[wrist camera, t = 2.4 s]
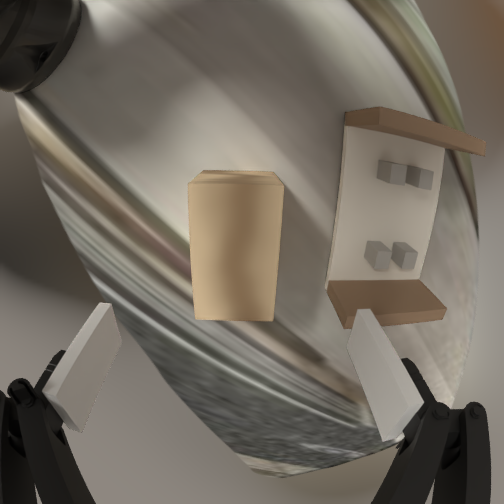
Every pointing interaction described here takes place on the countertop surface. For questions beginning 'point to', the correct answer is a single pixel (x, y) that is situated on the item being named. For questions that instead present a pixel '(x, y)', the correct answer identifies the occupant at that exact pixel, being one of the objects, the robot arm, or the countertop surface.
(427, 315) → the peg stand
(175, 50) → the countertop surface
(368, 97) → the countertop surface
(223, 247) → the shelf block
